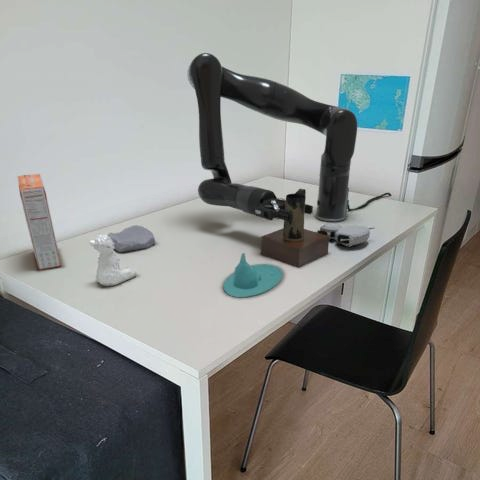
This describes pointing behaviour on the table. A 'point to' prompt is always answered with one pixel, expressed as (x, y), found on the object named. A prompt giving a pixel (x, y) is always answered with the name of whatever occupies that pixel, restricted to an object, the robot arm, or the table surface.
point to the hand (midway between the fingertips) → (302, 213)
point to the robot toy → (346, 233)
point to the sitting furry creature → (109, 263)
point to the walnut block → (294, 247)
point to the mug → (295, 216)
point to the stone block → (132, 238)
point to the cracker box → (39, 221)
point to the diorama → (251, 279)
